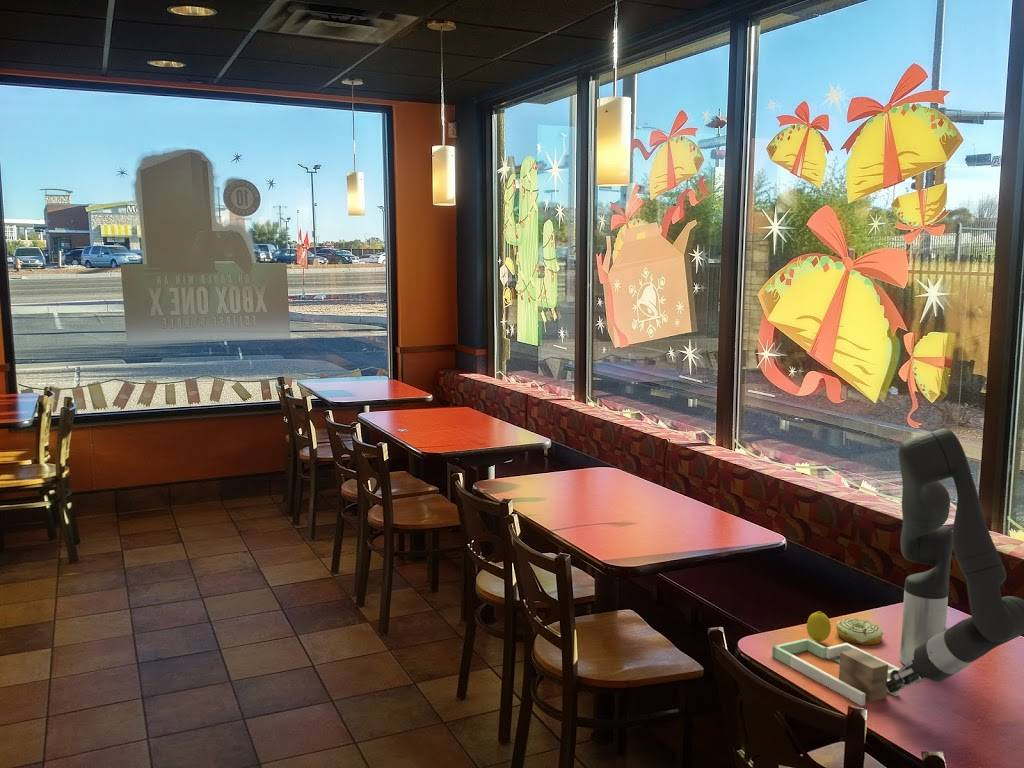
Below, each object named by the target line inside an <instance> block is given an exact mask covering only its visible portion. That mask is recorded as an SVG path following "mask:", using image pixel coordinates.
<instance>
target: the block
mask: <svg viewBox="0 0 1024 768" xmlns="http://www.w3.org/2000/svg"><path fill="white" fill-rule="evenodd" d="M887 675H888V664H886V663H884V662H882V661H880V660H878V659H875V658H873V657H871V656H869V655H867V654H865V653H863V652H861V651H859V650H857V649H852V650H848V651H844V652H840V664H839V669H838V679H839V680H841V681H843V682H845V683H847V684H848V685H850V686H852V687H854V688H856V689H858V690H860V691H861V692H863V693H865V694H866V696H865V701H866V700H867V702H870V703H873V702H875V701H879V700H883V699H886V698H887V692H886V691H887V686H886V682H887Z"/></svg>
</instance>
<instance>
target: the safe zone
mask: <svg viewBox="0 0 1024 768" xmlns="http://www.w3.org/2000/svg"><path fill="white" fill-rule="evenodd" d="M771 650H772V651H771V657H773V658H774V659H776V660H778V661H780V662H782V663H783V664H786V665H787V666H789V667H790V659H791V656H793V655H794V654H798V653H801V652H805V651H807V650H808V651H807V652H809V651H810V653H811V652H812V653H811V654H813V655H815V656H818V657H819V658H821V659H827V658H826V646H824V645H823V644H820V643H817V642H816V641H815V640H813V639H810V638H809V637H807V638H806V637H805V638H802V639H798V640H794V641H789V642H785V643H780V644H776V645H772V649H771Z"/></svg>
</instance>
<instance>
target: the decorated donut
mask: <svg viewBox="0 0 1024 768" xmlns="http://www.w3.org/2000/svg"><path fill="white" fill-rule="evenodd" d="M835 628H836V631H837V635H839V637H840V638H841V639H843V640H844V641H846V640H847V641H846V642H848V641H849V642H848V643H853V644H858V643H859V645H863V644H864V645H863V646H872V645H878V644H880V642H881V641H882V639H883V635H884V633H883V629H881V627H880V626H879V625H877V624H876V623H874V622H872V621H869V620H865V619H862V618H855V617H852V618H851V617H850V618H848V617H847V618H843V619H840V620H838V621H837V622H836V625H835Z"/></svg>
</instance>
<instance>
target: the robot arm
mask: <svg viewBox="0 0 1024 768" xmlns="http://www.w3.org/2000/svg"><path fill="white" fill-rule="evenodd" d="M898 461H899V468H900V469H899V470H900V473H901V481H902V482H901V483H902V493H901V495H902V496H901V513H902V515H901V516H902V526H901V533H900V540H899V541H900V552H901V555H902V556H903V558H904V559H905V560H906V561H909V562H912V563H914V564H915V563H916V564H918V563H919V564H924V565H930V566H931V565H932V566H933V567H932V568H931V569H929V570H926V571H922V572H918V573H917V572H916V573H912V574H909V575H908V576H907V577H906V578H905V580H904V589H903V603H902V604H903V607H902V619H901V638H900V639H901V640H900V650H899V655H900V656H899V660H900V663H902V665H904V666H903V667H901V668H900V670H893V671H892V672H891V675H890V677H891V680H890V681H888V682H886V686H887V688H888V690H889V692H890V693H893V692H896V691H898V690H899V691H900V690H902V689H904V688H905V687H909V686H911V685H914V684H919V683H921V682H923V681H925V680H930V681H932V682H938V683H939V682H943V681H945V680H947V679H949V678H950V677H952V676H954V675H955V674H957V673H959V672H960V671H962V670H964V669H965V668H967V667H968V666H970V665H971V664H972V663H973V662H975V661H976V660H979V659H980V658H981V657H983V656H985V655H987V654H988V653H989V652H990V651H992V650H994V649H995V648H996V647H1000V646H1002V645H1003V644H1006V643H1008V642H1010V641H1012V640H1015V639H1016V638H1018V637H1020V636H1022V635H1024V599H1023V598H1020V597H1018V596H1012V595H1006V596H1002V593H1001V586H1002V584H1003V583H1004V582H1005V581H1006V580H1007V572H1006V571H1007V570H1006V569H1005V565H1004V564H1003V561H1002V559H1001V556H1000V555H999V552H998V550H997V548H996V546H995V543H994V541H993V537H992V536H991V534H990V531H989V528H988V525H987V522H986V519H985V515H984V513H983V509H982V504H981V501H980V497H979V494H978V490H977V488H976V484H975V481H974V478H973V474H972V471H971V467H970V464H969V461H968V458H967V455H966V453H965V450H964V448H963V446H962V444H961V442H960V440H959V438H958V437H957V435H956V434H955V433H954V432H953V431H952V430H950V429H949V428H940V429H938V430H937V429H936V430H934V431H930V432H927V433H925V434H922V435H918V436H915V437H911V438H909V439H907V440H905V441H903V442H902V443H901V444H900V445H899V448H898ZM949 478H952V479H953V482H954V484H955V489H956V490H955V491H956V499H957V501H956V510H955V513H954V521H953V525H952V526H953V527H952V529H951V527H950V526H947V525H944V524H945V523H946V522H947V520H948V518H949V517H950V510H951V509H950V508H951V497H950V493H949V491H948V489H947V488H946V487H945V485H943V483H941V482H940V481H943V480H946V479H949ZM953 554H954V556H955V559H956V561H957V563H958V566H959V569H960V571H961V573H962V574H963V578H964V579H965V582H966V588H967V590H966V591H967V598H968V603H969V608H970V609H969V610H970V614H971V616H970V617H967V618H965V619H962V620H960V621H959V622H957V623H955V624H954V625H953V626H951V627H948V626H947V620H948V619H947V618H948V603H949V602H948V601H949V591H950V590H949V589H950V588H949V587H950V585H949V583H950V572H951V571H950V570H951V563H952V556H953ZM890 693H889V694H890Z"/></svg>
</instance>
